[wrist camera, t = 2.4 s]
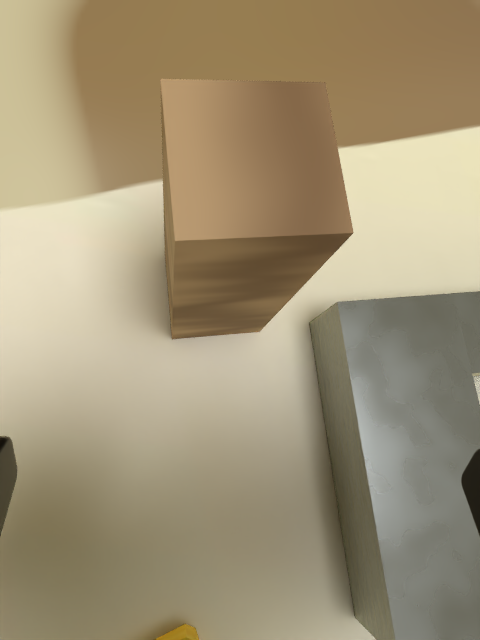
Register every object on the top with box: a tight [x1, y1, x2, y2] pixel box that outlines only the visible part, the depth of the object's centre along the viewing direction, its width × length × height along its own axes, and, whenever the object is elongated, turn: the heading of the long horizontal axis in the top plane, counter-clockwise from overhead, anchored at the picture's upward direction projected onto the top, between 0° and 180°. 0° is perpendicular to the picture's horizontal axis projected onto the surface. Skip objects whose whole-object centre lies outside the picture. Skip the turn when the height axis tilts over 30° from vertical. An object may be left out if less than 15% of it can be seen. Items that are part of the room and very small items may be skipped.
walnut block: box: [160, 79, 353, 339], centre depth 17 cm, size 4×4×12 cm
